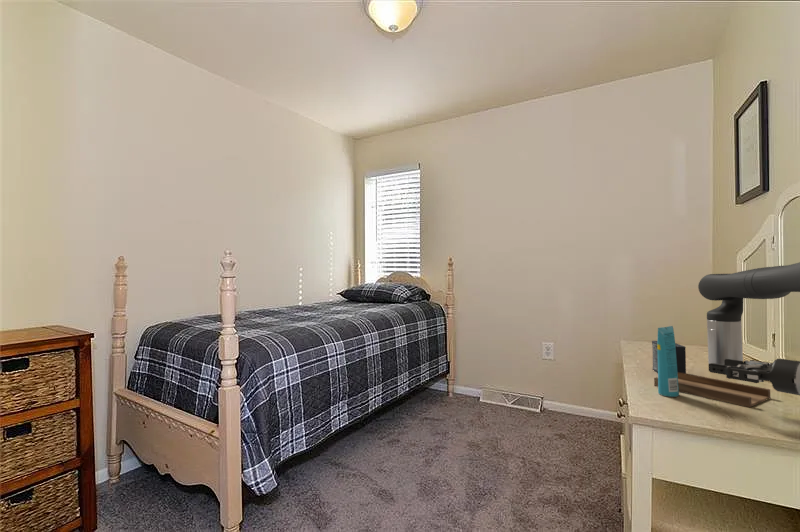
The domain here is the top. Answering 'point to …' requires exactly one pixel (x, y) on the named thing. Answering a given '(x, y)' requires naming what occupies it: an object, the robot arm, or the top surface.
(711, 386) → the brown wooden tray
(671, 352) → the tube
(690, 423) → the top surface
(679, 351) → the small box
